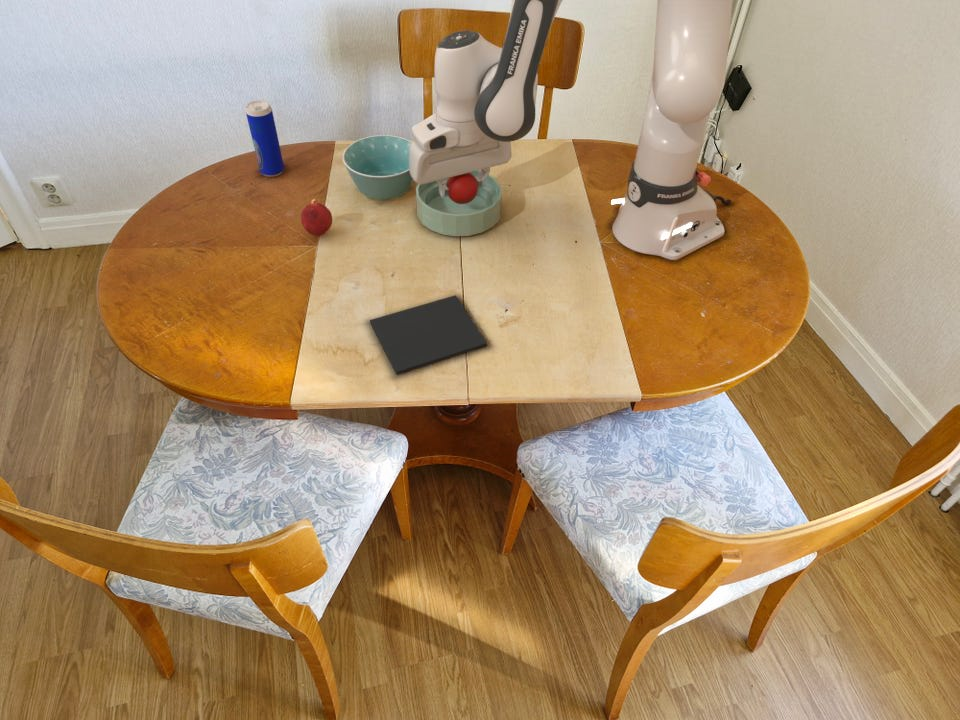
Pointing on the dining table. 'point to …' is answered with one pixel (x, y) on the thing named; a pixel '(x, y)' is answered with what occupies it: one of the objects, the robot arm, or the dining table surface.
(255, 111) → the beverage can
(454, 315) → the mat
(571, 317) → the dining table surface
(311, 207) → the onion
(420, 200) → the fruit bowl
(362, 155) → the bowl
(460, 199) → the red ball
